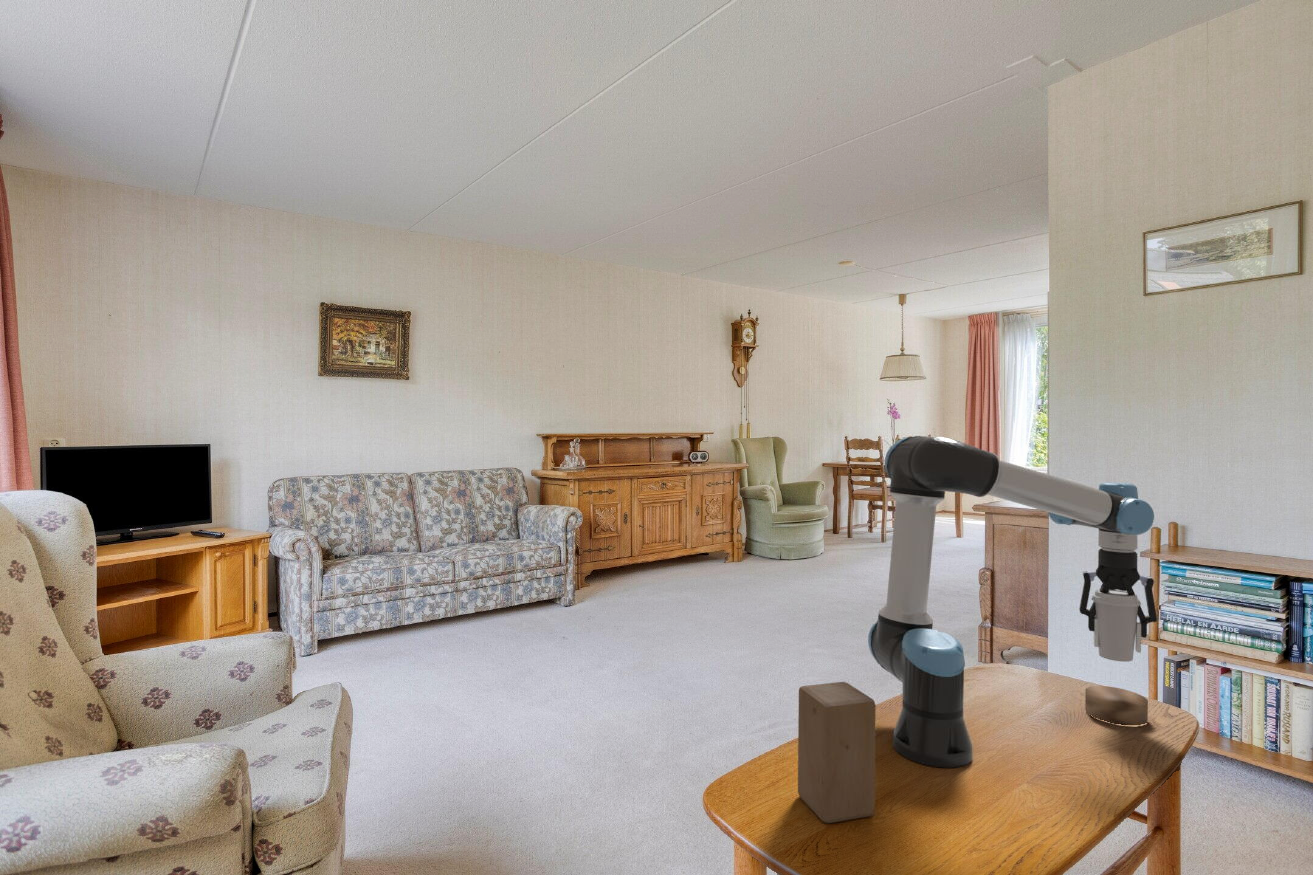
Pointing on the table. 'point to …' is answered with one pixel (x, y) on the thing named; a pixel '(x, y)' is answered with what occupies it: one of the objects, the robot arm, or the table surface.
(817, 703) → the wooden block
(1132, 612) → the coffee cup
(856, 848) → the table surface
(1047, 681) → the table surface
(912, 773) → the table surface
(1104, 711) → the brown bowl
